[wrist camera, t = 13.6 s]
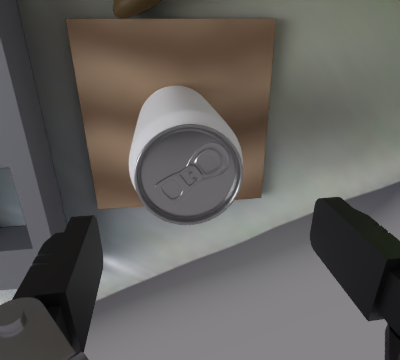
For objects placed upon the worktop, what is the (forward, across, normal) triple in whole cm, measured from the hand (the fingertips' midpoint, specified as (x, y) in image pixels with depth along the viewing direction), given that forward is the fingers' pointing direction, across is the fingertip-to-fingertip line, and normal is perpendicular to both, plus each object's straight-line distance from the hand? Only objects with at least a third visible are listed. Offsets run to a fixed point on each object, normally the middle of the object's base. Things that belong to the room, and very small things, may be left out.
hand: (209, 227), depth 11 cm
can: (+17, 0, 0) cm, 17 cm away
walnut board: (+18, 0, 0) cm, 18 cm away
